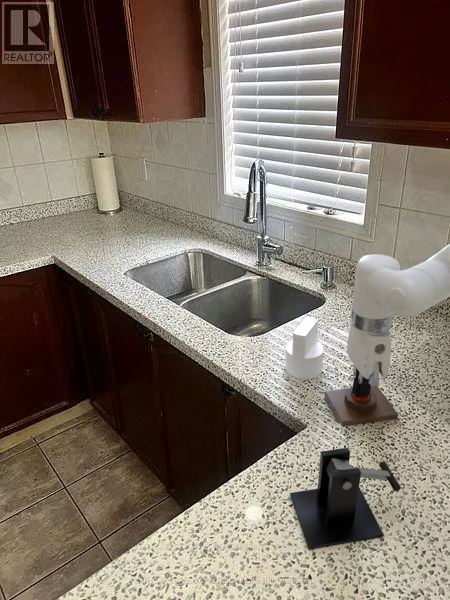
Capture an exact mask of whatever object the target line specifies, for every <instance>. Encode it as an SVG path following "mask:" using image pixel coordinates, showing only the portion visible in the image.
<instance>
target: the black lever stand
mask: <svg viewBox="0 0 450 600" xmlns="http://www.w3.org/2000/svg"><path fill="white" fill-rule="evenodd" d="M350 457H351V451H350V449H349V447H343V448H337V449H335V448H334V449H327V450H322V451H320V457H319V468H318V479H317V488H313V489H306V490H299V491H293V492H289V496H290V500H291V502H292V506H293V508H294V511H295V514H296V517H297V520H298V523H299V526H300V529H301V532H302V535H303V538H304V540H305V544H306V548H307V549H308V550H309V551H310V550H316V549H322V548H327V547H333V546H338V545H339V546H340V545H345V544H349V543H356V542H361V541H367V540H374V539H380V538H383V537H384V536H385V534H384V532H383V530H382V528H381V526H380V524H379V522H378V520H377V519H376V517H375V514H374V513H373V511H372V509H371V507H370V505H369V503H368V501H367V499H366V497H365V495H364V493H363V492H362V489H361V488H360V487H361V486H360V483H361V478H360V477H361V471H360V469H359V468H360V467H358V468H353V469H346V470H339V471H333V472H330V477H329V475H328V473H327V471H326V469H327V467H328V465H329V463H330V461H331V459H332V458H334V459H342V460H348V462H349V463H350Z"/></svg>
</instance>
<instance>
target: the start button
mask: <svg viewBox="0 0 450 600" xmlns="http://www.w3.org/2000/svg"><path fill="white" fill-rule="evenodd" d="M352 397H353V399H355V400H357V401H360V402H367V401H369V400H370V395H369V396H363V397H355V396H354V394H352Z"/></svg>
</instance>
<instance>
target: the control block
mask: <svg viewBox="0 0 450 600" xmlns="http://www.w3.org/2000/svg"><path fill="white" fill-rule="evenodd" d="M352 389H353V385H351V386H350V387H346V388H338V389H330V390H325V391H324V401H325V402H326V404H327V406H328V408H329V409H330V411H331V413H332V415H333V417H334V419H335V420H336V423H337V424H340V425H341V427H348V426H356V425H362V424H369V423H376V422H384V421H385V422H386V421H392V420H398V419H399V413H398V411H397V410H396V408H395V407H394V406H393V405H392V404H391V402H390V401H389V399H388V398H387V396H386V395H385V394H384V392H383V391H382V390H381V388H379V386H371V389H370V400H369V401H367V402H360V401H357V400H355V399H353V397H352V394H353V392H352Z"/></svg>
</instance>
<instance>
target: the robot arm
mask: <svg viewBox="0 0 450 600" xmlns="http://www.w3.org/2000/svg"><path fill="white" fill-rule="evenodd" d="M353 287H354V288H353V295H352V303H351V313H350V322H349V323H350V327H349V331H348V337H347V344H346V353H347V356H348V358H349V359H350V361H351V362H352V364H353V369H352V371H353V376H354V377H353V382H352V386H353V389H352V392H353V394H354V396H355V397H363V396H369V395H370V389H371V386H378V387H379V385H380V375H381V377H383V378H387V377H388V376H389V372H390V364H391V353H392V335H391V328H392V322H393V317H394V314H395V315H397V316H399V317H403V318H413V317H416V316H418V315H420V314H421V313H423V312H425V311H427V310H428V309H430V308H432V307H433V306H435V305H437V304H439V303H440V302H442V301H444V300H446V299H448V298H450V243H449V244H447V245H446V246H445V247H443V248H442V249H440V251H437V253H435V254H434V255H432V256H431V257H430V258H428V259H427V260H425V261H423V262H421V263H418V264H415V265H414V266H412V267H409V268H407V269H402V270H401V265H400V262H399V261H398V260H397V259H396V258H394V257H393V256H389V255H385V254H380V253H379V254H378V253H377V254H376V253H375V254H373V253H372V254H367V255H364V256H362V257H361V258H360V259H359V260H358V261H357V264H356V270H355V278H354V286H353Z"/></svg>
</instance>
